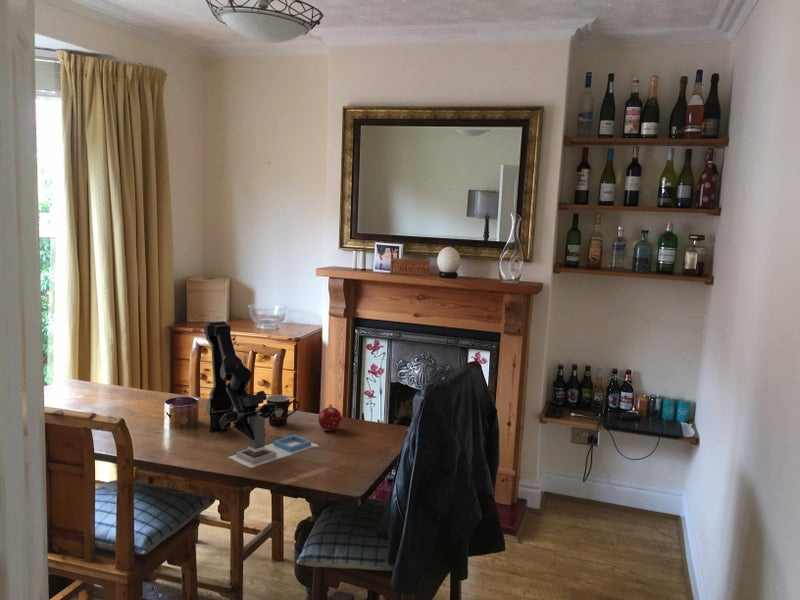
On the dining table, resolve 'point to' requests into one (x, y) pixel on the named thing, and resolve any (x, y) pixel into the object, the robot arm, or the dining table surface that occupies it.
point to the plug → (257, 437)
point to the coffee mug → (280, 409)
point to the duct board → (275, 451)
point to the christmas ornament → (330, 418)
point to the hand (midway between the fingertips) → (259, 438)
